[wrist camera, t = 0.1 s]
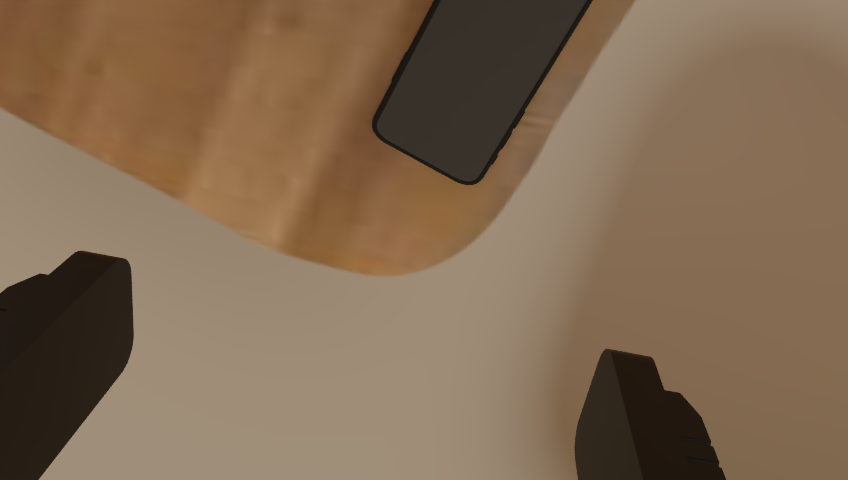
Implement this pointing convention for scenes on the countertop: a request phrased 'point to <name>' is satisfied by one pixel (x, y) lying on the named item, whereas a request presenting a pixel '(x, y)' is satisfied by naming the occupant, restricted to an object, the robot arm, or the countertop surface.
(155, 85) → the countertop surface
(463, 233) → the countertop surface
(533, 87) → the smartphone
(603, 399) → the robot arm
